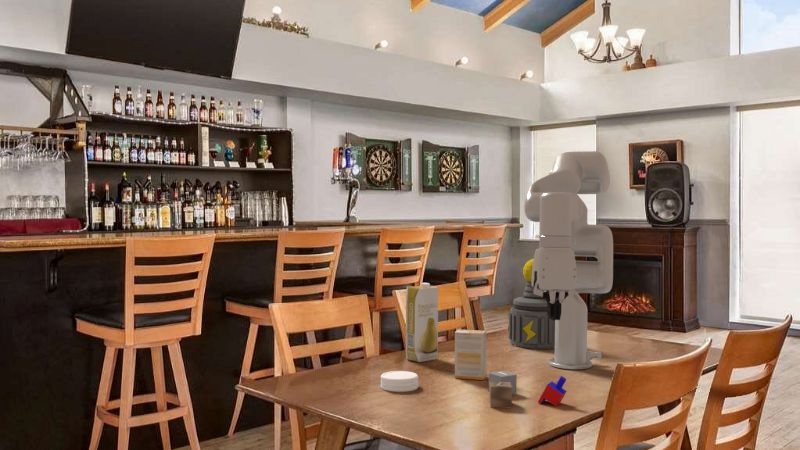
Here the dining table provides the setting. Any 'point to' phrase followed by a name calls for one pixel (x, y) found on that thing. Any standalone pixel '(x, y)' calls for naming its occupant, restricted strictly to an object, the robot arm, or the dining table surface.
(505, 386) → the numeral seven cube
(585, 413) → the dining table surface
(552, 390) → the toy building block
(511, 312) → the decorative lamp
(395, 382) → the white short cylinder
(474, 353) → the supplement box
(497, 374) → the numeral one cube
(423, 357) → the juice carton
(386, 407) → the dining table surface
